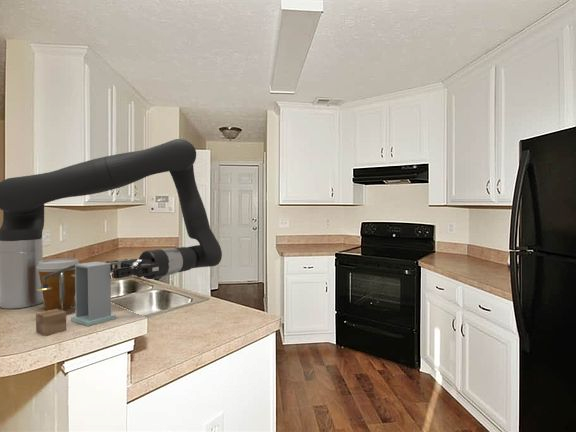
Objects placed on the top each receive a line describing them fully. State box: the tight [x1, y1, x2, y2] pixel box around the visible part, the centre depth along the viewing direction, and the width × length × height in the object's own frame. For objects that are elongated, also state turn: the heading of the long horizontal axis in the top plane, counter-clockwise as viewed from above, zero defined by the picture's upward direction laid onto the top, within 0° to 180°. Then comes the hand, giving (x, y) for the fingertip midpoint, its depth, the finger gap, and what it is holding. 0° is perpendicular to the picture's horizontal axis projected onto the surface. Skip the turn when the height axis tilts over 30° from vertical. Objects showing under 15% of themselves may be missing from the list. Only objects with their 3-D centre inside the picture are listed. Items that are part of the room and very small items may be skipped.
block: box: [35, 309, 67, 337], centre depth 74 cm, size 4×4×4 cm
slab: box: [70, 313, 117, 327], centre depth 82 cm, size 7×6×1 cm
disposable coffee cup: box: [36, 257, 81, 311], centre depth 92 cm, size 10×10×12 cm
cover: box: [75, 261, 112, 321], centre depth 82 cm, size 6×5×12 cm
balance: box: [36, 264, 76, 316], centre depth 86 cm, size 4×11×12 cm, turn 148°
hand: (103, 272), depth 84 cm, fingers open, 8 cm apart
